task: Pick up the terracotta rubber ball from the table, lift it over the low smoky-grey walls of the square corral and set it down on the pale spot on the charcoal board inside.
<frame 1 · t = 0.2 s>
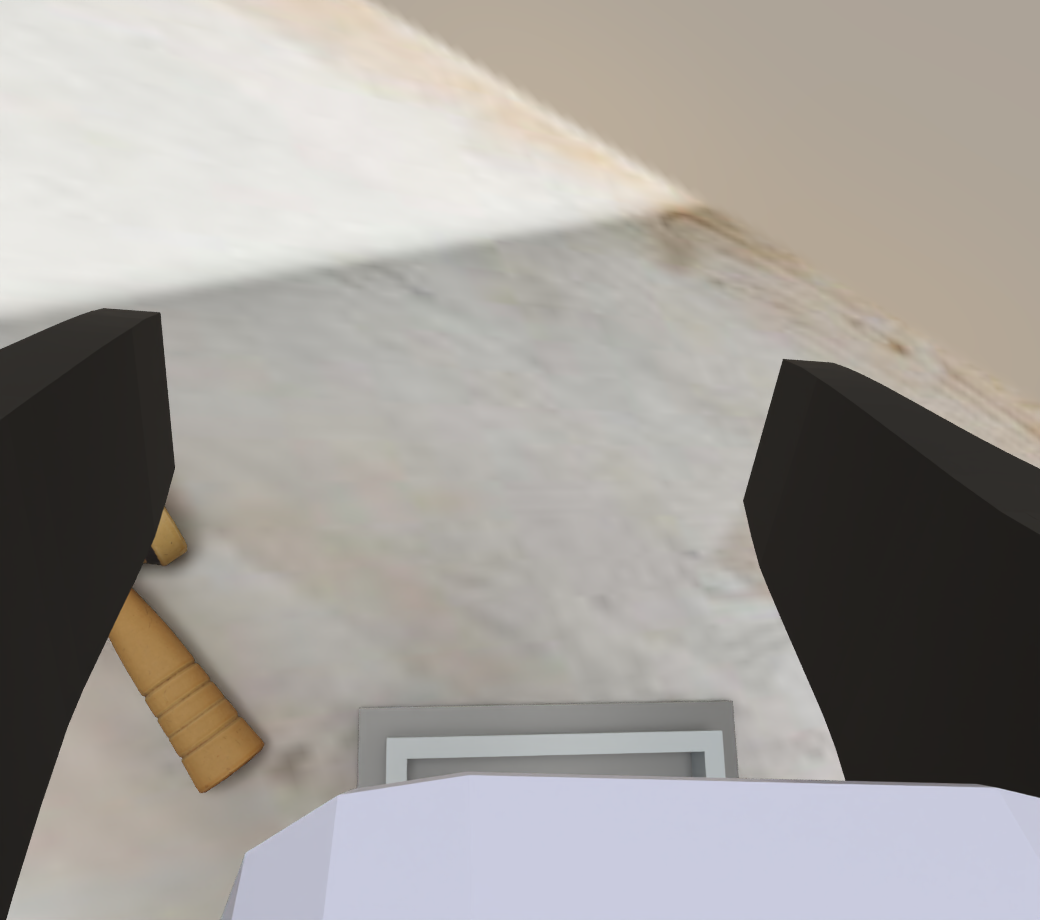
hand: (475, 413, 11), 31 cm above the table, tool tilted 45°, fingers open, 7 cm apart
kendama: (128, 593, 41), on the table
corral: (553, 906, 39), on the table
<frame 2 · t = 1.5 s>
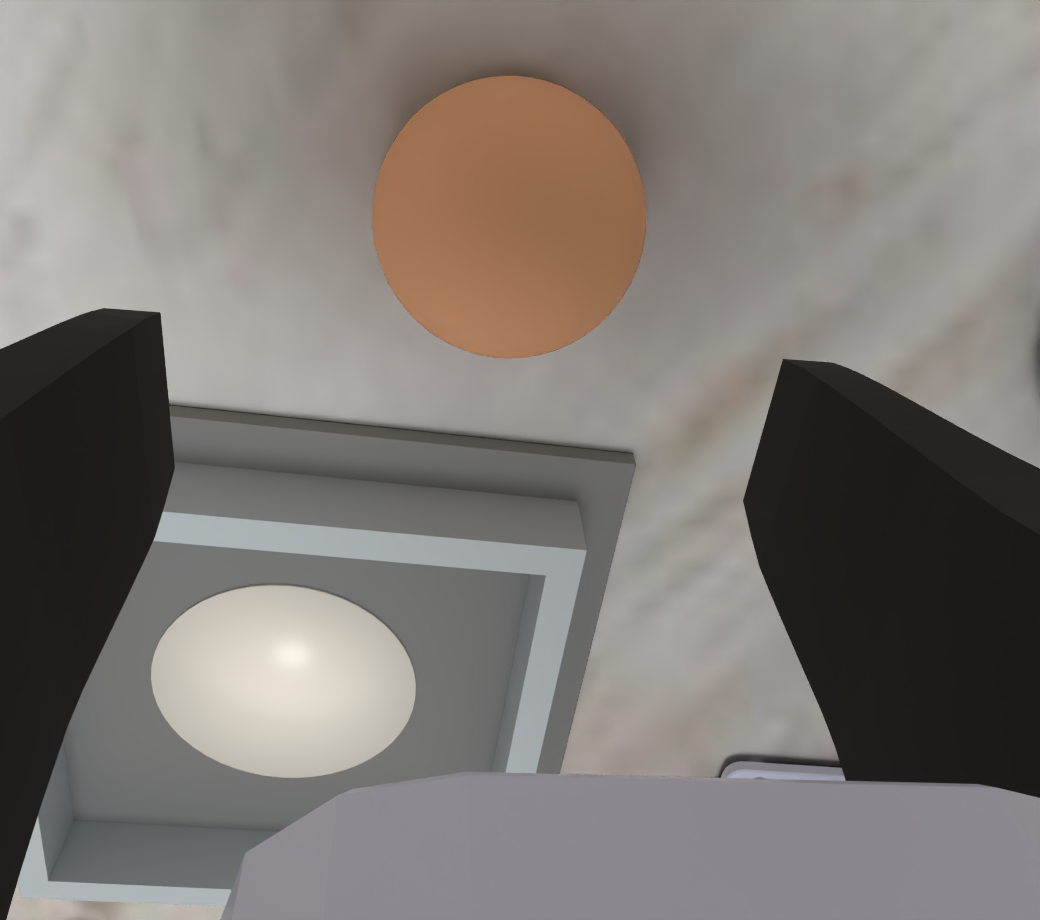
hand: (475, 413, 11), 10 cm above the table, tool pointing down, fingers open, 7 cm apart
rubber ball: (504, 185, 20), on the table
corral: (288, 672, 26), on the table
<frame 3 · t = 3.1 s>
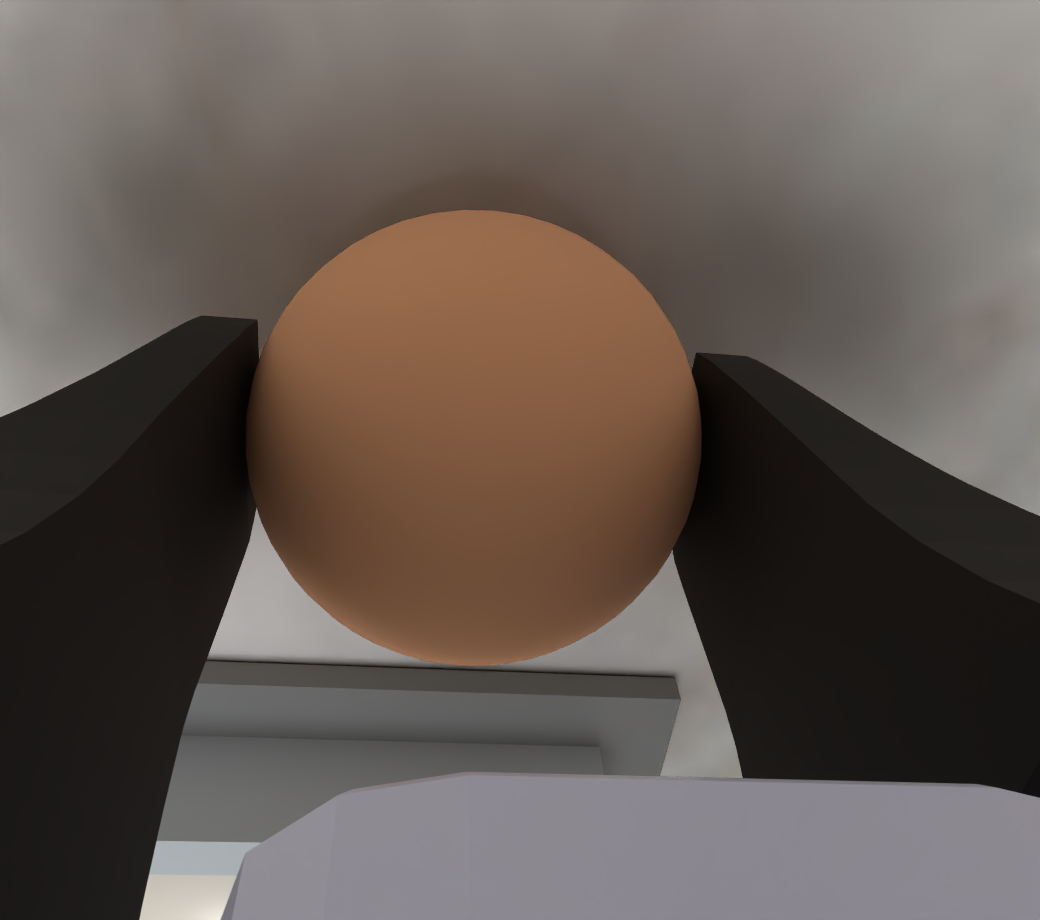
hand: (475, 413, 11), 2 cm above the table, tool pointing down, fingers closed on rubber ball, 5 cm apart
rubber ball: (471, 343, 13), on the table, touching gripper
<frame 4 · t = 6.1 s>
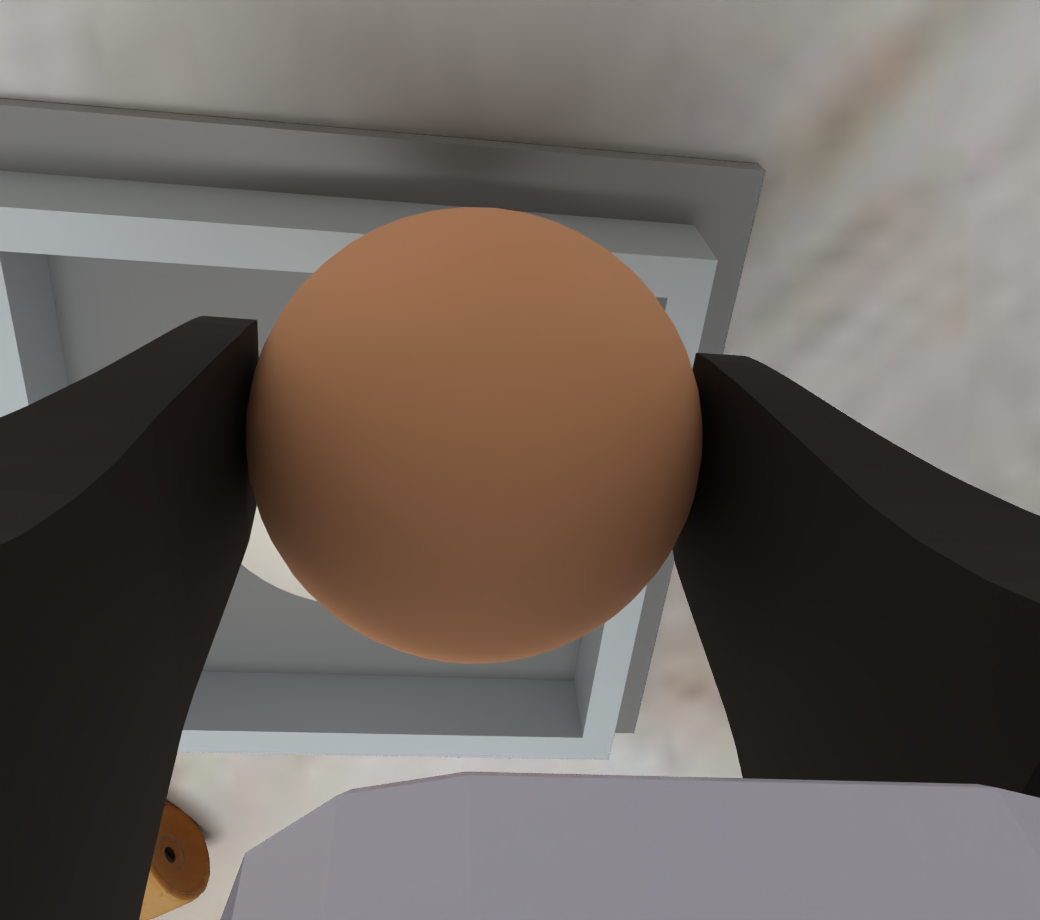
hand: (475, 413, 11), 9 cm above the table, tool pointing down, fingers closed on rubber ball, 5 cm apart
rubber ball: (472, 341, 13), point 7 cm above the table, touching gripper
corral: (354, 475, 23), on the table
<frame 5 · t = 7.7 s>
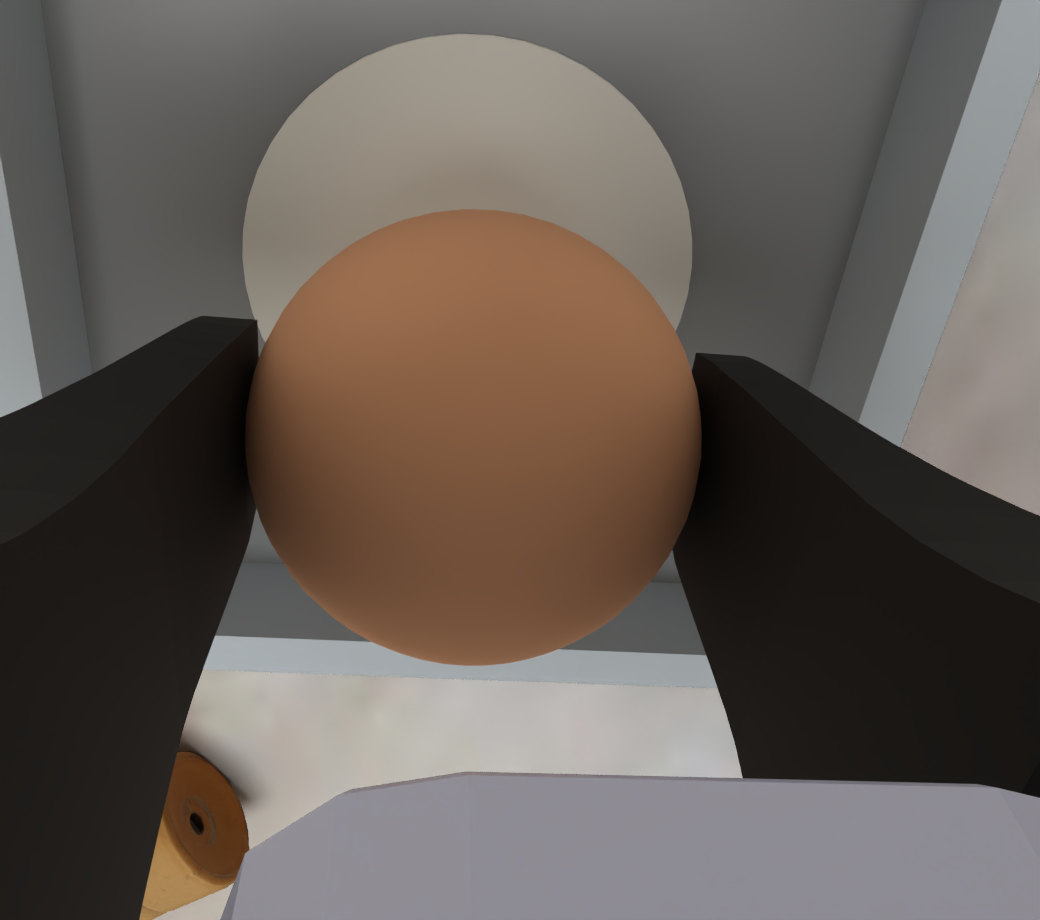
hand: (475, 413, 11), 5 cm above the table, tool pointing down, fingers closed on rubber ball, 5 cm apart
rubber ball: (471, 343, 13), point 3 cm above the table, touching gripper
corral: (470, 262, 16), on the table
when the fingers open (4 cm above the table, at t = 9.2 s): rubber ball drops 1 cm, resting on corral.
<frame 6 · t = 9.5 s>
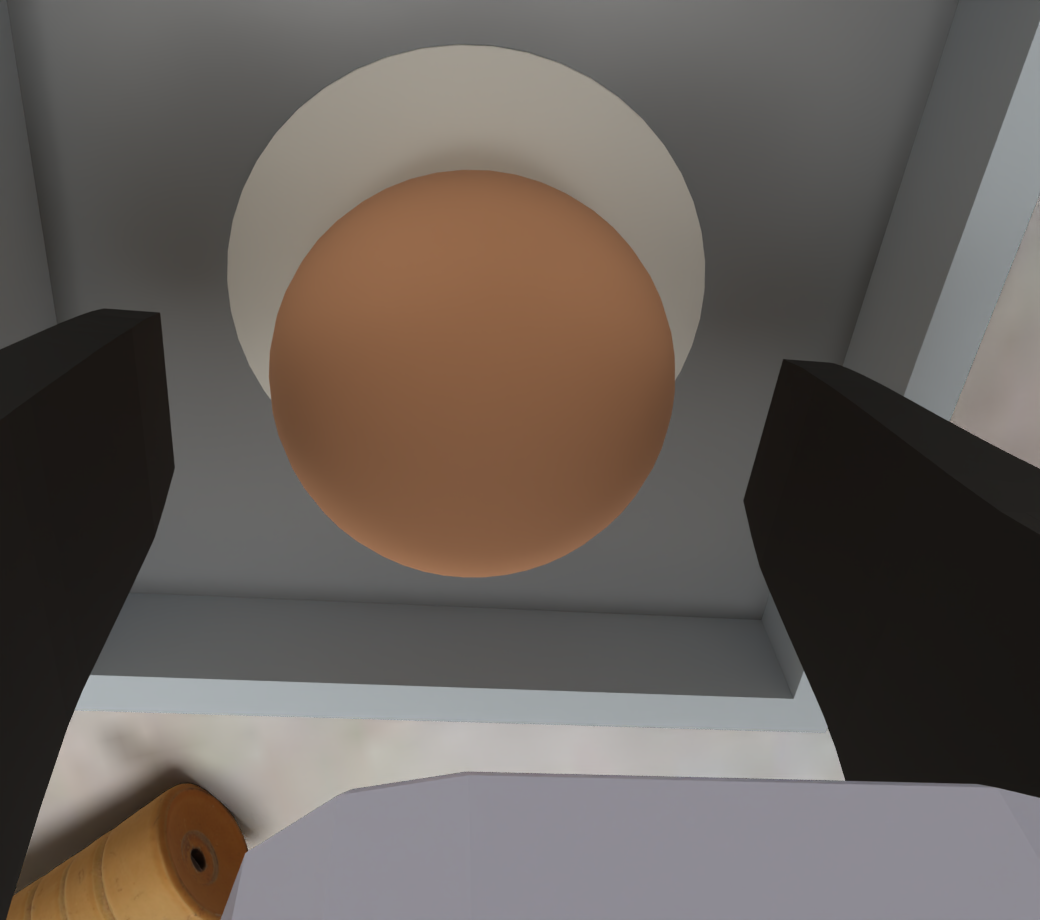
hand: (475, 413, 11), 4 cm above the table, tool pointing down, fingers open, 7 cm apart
rubber ball: (469, 299, 14), point 1 cm above the table, touching corral
corral: (469, 285, 15), on the table
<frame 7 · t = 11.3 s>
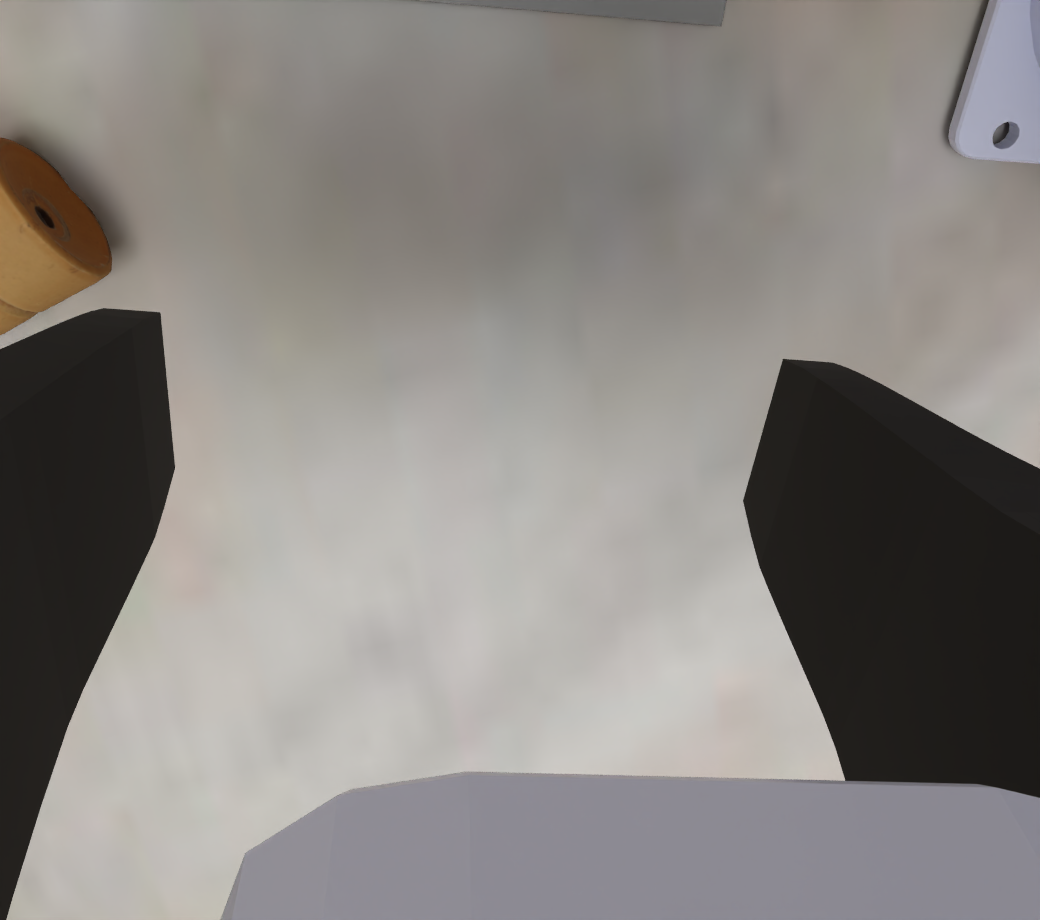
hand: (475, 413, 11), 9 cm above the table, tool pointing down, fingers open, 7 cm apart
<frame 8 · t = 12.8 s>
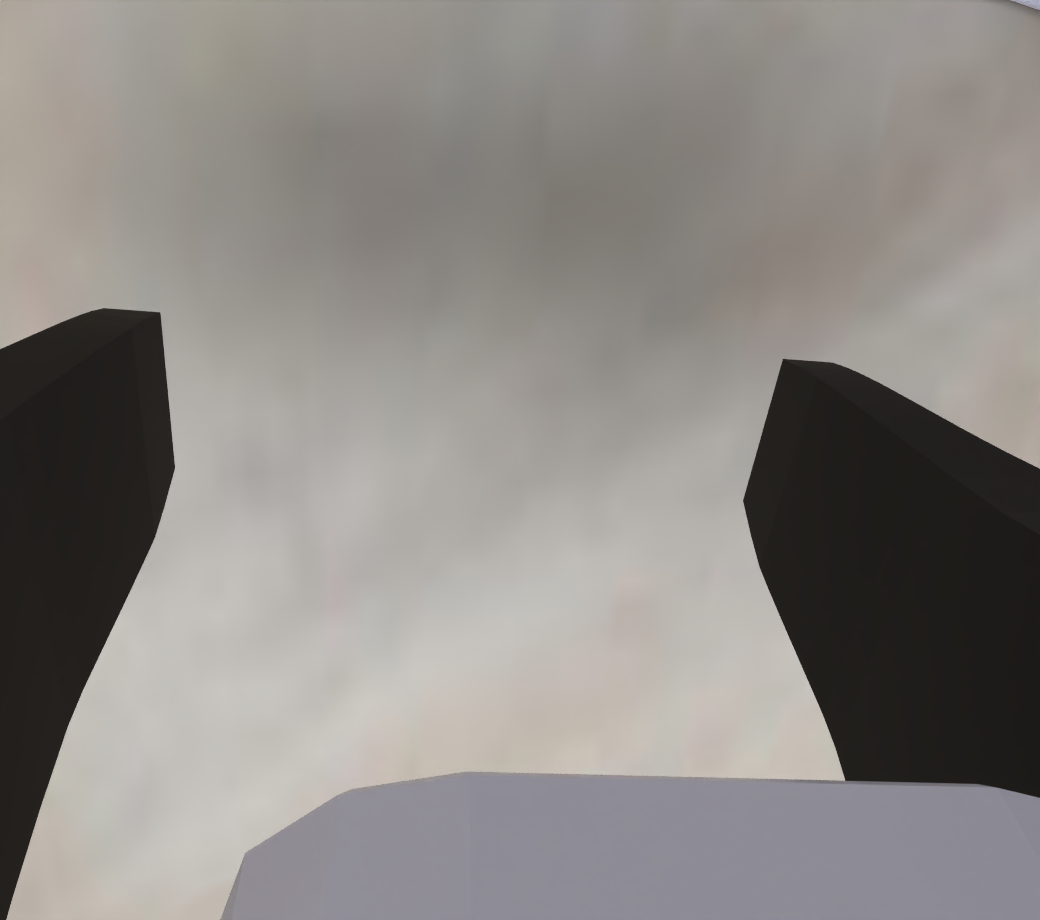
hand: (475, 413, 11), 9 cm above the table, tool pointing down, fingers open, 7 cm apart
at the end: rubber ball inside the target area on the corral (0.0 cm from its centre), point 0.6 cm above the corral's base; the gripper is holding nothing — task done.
